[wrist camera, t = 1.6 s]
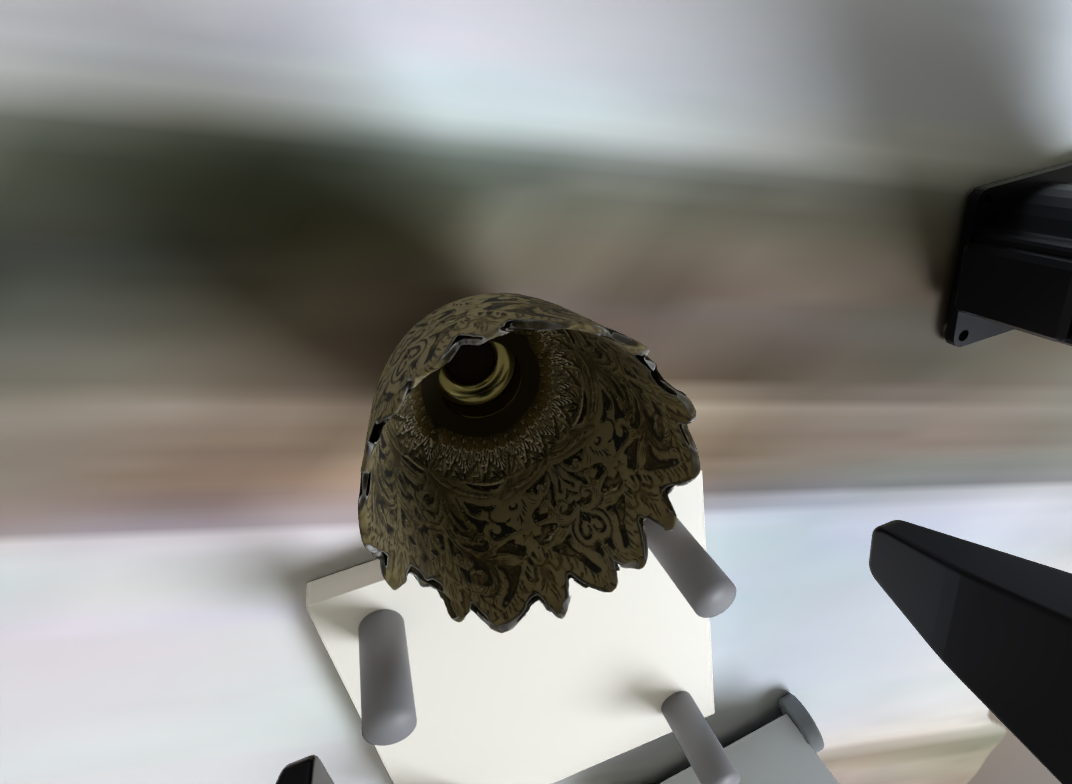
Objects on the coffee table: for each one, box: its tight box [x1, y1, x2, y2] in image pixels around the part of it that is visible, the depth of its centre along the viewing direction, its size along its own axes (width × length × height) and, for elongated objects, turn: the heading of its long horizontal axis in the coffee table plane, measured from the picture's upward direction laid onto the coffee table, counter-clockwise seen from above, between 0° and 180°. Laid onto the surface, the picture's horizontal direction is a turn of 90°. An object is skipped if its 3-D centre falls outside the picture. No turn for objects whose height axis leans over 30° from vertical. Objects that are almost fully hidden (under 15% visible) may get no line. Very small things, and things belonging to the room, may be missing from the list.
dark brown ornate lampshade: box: [358, 293, 700, 633], centre depth 16 cm, size 8×7×8 cm
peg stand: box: [305, 469, 740, 784], centre depth 23 cm, size 15×15×5 cm
